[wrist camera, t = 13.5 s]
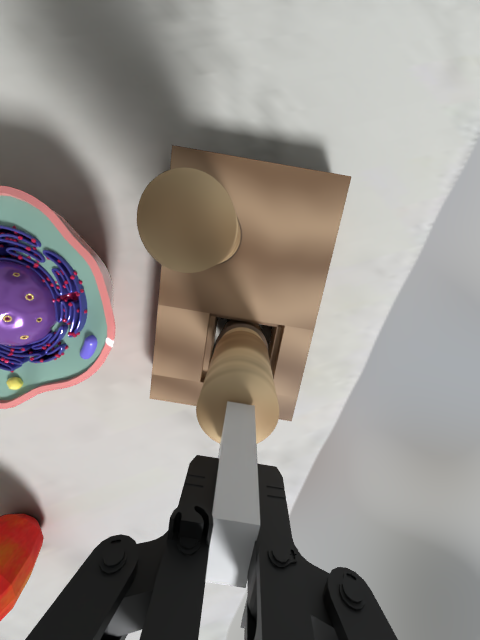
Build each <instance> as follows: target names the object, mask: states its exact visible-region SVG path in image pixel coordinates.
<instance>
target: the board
mask: <svg viewBox="0 0 480 640" xmlns="http://www.w3.org/2000/svg"><path fill="white" fill-rule="evenodd" d="M350 180H351V176H345V175H339V174H334V173H328V172H322V171H317V170H311V169H305V168H299V167H294V166H288V165H282V164H277V163H271V162H265V161H260V160H254V159H248V158H242V157H237V156H231V155H225V154H220V153H214V152H208V151H202V150H197V149H191V148H185V147H180V146H174V145H172V152H171V164H170V170H168V171H165V172H163V173H162V174H160V175H158V176H157V177H156V178H154V179H153V180H152V181H151V182H150V183H149V185H148V186H147V187H146V188H145V190H144V192H143V194H142V196H141V198H140V201H139V205H138V210H137V226H138V231H139V235H140V237H141V240H142V242H143V244H144V246H145V248H146V249H147V251H148V252H149V253H150V255H151V256H152V257H153V258H154V259H155V260H156V261H157V262H159V263H160V264H162V266H161V277H160V288H159V300H158V311H157V322H156V334H155V345H154V356H153V368H152V379H151V390H150V399H156V400H163V401H169V402H175V403H181V404H188V405H194V406H197V401H198V398H199V395H200V392H201V389H202V386H203V383H204V380H205V377H206V374H207V371H208V368H209V365H210V362H211V359H212V353H213V347H214V340H215V333H216V326H217V320H218V317H220V318H226V319H232V320H238V321H244V322H250V323H256V324H262V325H268V326H273V327H272V332H271V337H270V342H269V347H268V355H269V360H270V365H271V370H272V375H273V379H274V384H275V389H276V394H277V399H278V404H279V419H281V420H287V421H292V417H293V413H294V409H295V405H296V401H297V397H298V393H299V389H300V385H301V381H302V376H303V372H304V368H305V364H306V360H307V356H308V352H309V348H310V344H311V340H312V336H313V332H314V327H315V323H316V319H317V315H318V311H319V307H320V303H321V299H322V295H323V291H324V287H325V282H326V278H327V274H328V270H329V266H330V262H331V258H332V254H333V250H334V246H335V242H336V238H337V233H338V229H339V225H340V221H341V217H342V213H343V209H344V205H345V201H346V197H347V193H348V188H349V184H350Z"/></svg>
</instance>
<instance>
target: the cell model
mask: <svg viewBox="0 0 480 640" xmlns="http://www.w3.org/2000/svg"><path fill="white" fill-rule="evenodd" d="M114 338H115V322H114V315H113V285H112V281H111V277H110V274H109V272H108V269H107V268H106V266H105V264H104V263H103V261H102V260H101V259H100V257H99V256H98V255H97V253H96V252H95V251H94V250H93V249H92V248H91V247H90V246H89V245H88V244H87V243H86V242H85V241H84V239H83V238H82V237H81V236H80V235H79V234H78V233H77V232H76V231H75V230H74V229H73V227H72V226H71V225H70V224H69V223H68V222H67V221H66V220H65V219H64V218H63V217H62V216H61V215H59V214H58V213H57V212H56V211H54V210H52V209H50V208H49V207H48V206H47V205H45V204H44V203H43V202H41V201H40V200H38V199H37V198H35V197H34V196H32V195H30V194H28V193H26V192H24V191H21V190H18V189H15V188H12V187H9V186H0V409H6V408H11V407H15V406H17V405H19V404H21V403H23V402H25V401H26V400H28V399H30V398H32V397H34V396H36V395H37V394H40V393H43V392H45V391H51V390H56V389H62V388H67V387H71V386H73V385H76V384H78V383H80V382H82V381H84V380H85V379H87V378H89V377H90V376H91V375H93V374H94V373H95V372H96V371H97V370H98V369H99V368H100V366H101V365H102V364H103V363H104V361H105V360H106V358H107V356H108V354H109V352H110V350H111V348H112V345H113V342H114Z"/></svg>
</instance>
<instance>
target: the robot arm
mask: <svg viewBox="0 0 480 640" xmlns="http://www.w3.org/2000/svg"><path fill="white" fill-rule="evenodd" d="M247 579H248V597H247V601H246V606H245V609H244V613H243V618H242V623H241V628H244V627H245V640H398V639H397V637H396V636H395V634H394V632H393V630H392V628H391V626H390V624H389V623H388V621H387V619H386V617H385V615H384V613H383V611H382V610H381V608H380V606H379V604H378V602H377V600H376V599H375V597H374V595H373V593H372V591H371V590H370V588H369V587H368V585H367V584H366V582H365V581H364V580H363V579H362V578H361V577H360V576H359V575H358V574H357V573H356V572H354V571H352V570H350V569H348V568H343V567H337V568H335V569H333V570H332V571H331V573H330V574H329V573H327V572H326V571H324V570H322V569H320V568H318V567H316V566H314V565H312V564H311V563H309V562H308V561H306V559H305V558H303V557H302V556H301V554H300V553H299V552H298V549H297V548H296V547H295V545H294V542H293V539H292V534H291V528H290V521H289V515H288V509H287V502H286V496H285V491H284V483H283V477H282V475H281V474H280V472H279V470H278V469H277V467H275V466H268V465H262V464H257V445H256V424H255V406H254V405H247V404H241V403H235V402H229V401H227V407H226V413H225V419H224V424H223V430H222V436H221V442H220V449H219V456H218V458H212V457H206V456H200V455H197V456H196V457H195V458H194V459H193V460H192V461H191V463H190V464H189V468H188V472H187V476H186V479H185V483H184V487H183V490H182V494H181V498H180V501H179V505H178V507H177V508H176V509H175V510H174V511H173V513H172V515H171V517H170V522H169V530H168V531H167V532H166V533H165V534H164V535H163V536H161V537H160V538H158V539H156V540H152V541H149V542H144V543H139V544H136V542H135V541H134V540H133V539H132V538H131V537H129V536H126V535H116V536H111V537H109V538H107V539H106V540H104V541H102V542H101V543H100V544H99V545H98V546H97V547H96V548H95V549H94V550H93V551H92V553H91V554H90V555H89V557H88V558H87V559H86V561H85V562H84V563H83V565H82V566H81V567H80V569H79V570H78V571H77V572H76V574H75V575H74V576H73V578H72V579H71V580H70V582H69V583H68V584H67V586H66V587H65V588H64V590H63V591H62V592H61V593H60V595H59V596H58V597H57V599H56V600H55V601H54V603H53V604H52V605H51V607H50V608H49V609H48V610H47V612H46V613H45V614H44V616H43V617H42V618H41V620H40V621H39V622H38V624H37V625H36V626H35V628H34V629H33V630H32V631H31V633H30V634H29V635H28V637H27V638H26V639H25V640H125V638H126V636H127V634H128V633H132V632H135V631H138V630H141V629H142V633H141V636H140V640H198V636H199V628H200V620H201V612H202V604H203V596H204V588H205V582H210V583H217V584H223V585H230V586H237V587H243V588H246V583H247Z"/></svg>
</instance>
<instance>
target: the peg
mask: <svg viewBox="0 0 480 640" xmlns="http://www.w3.org/2000/svg"><path fill="white" fill-rule="evenodd" d="M227 401H229V402H235V403H241V404H247V405H254V406H255V424H256V444H257V443H259V442H261V441H263V440H264V439H266V438H267V437H268V436H269V435H270V434H271V433H272V432H273V430H274V429H275V427H276V425H277V422H278V419H279V404H278V399H277V394H276V389H275V384H274V379H273V375H272V370H271V365H270V360H269V355H268V345H267V341H266V338H265V336H264V335H263V333H262V330H261V328H260V326H259V324H256V323H250V322H244V321H238V320H232V319H231V320H229V321H228V322H227V323H226V325H225V326H224V329H223V331H222V332H221V333H220V334H219V336H218V338H217V340H216V344H215V350H214V353H213V356H212V359H211V362H210V365H209V368H208V371H207V374H206V377H205V380H204V383H203V386H202V389H201V392H200V395H199V398H198V401H197V406H196V413H197V419H198V422H199V424H200V426H201V428H202V429H203V431H204V432H205V433H206V434H207V435H208V436H209V437H210V438H211V439H213V440H214V441H216V442H218V443H220V442H221V436H222V430H223V424H224V419H225V413H226V407H227Z"/></svg>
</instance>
